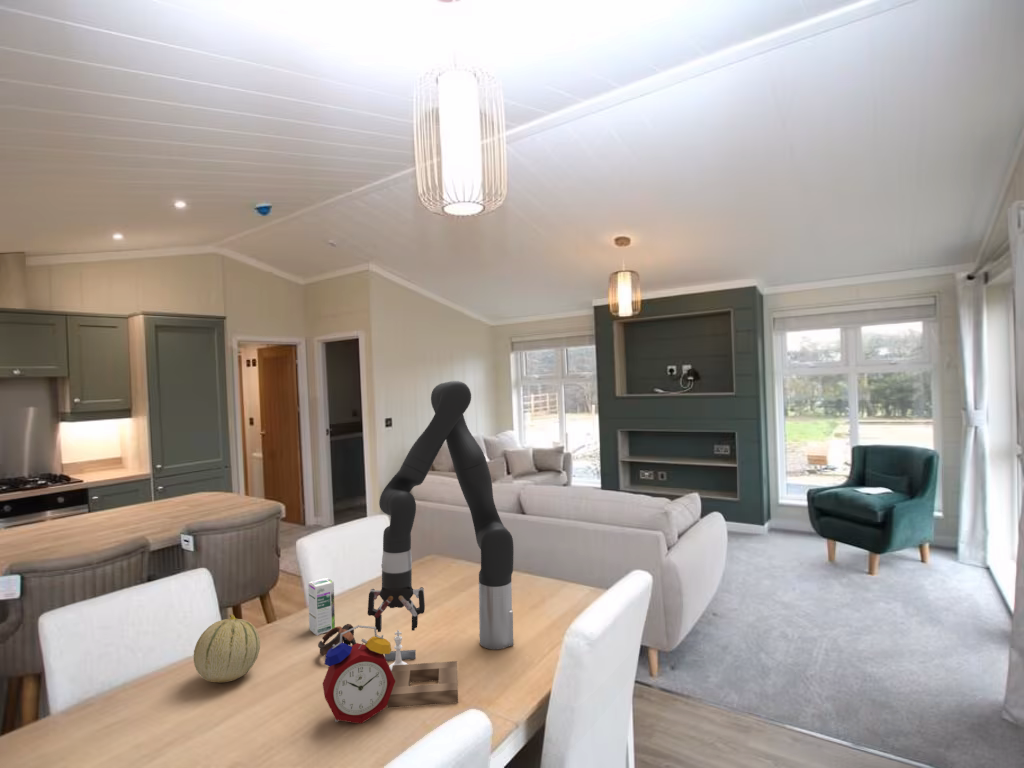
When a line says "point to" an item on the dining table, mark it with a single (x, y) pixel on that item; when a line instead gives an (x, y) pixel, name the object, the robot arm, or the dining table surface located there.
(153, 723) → the dining table surface
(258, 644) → the cantaloupe
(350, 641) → the pottery mug
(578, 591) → the dining table surface
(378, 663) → the alarm clock
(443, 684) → the block
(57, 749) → the dining table surface
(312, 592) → the syrup box
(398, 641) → the chess piece
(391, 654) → the stand rails
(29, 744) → the dining table surface
